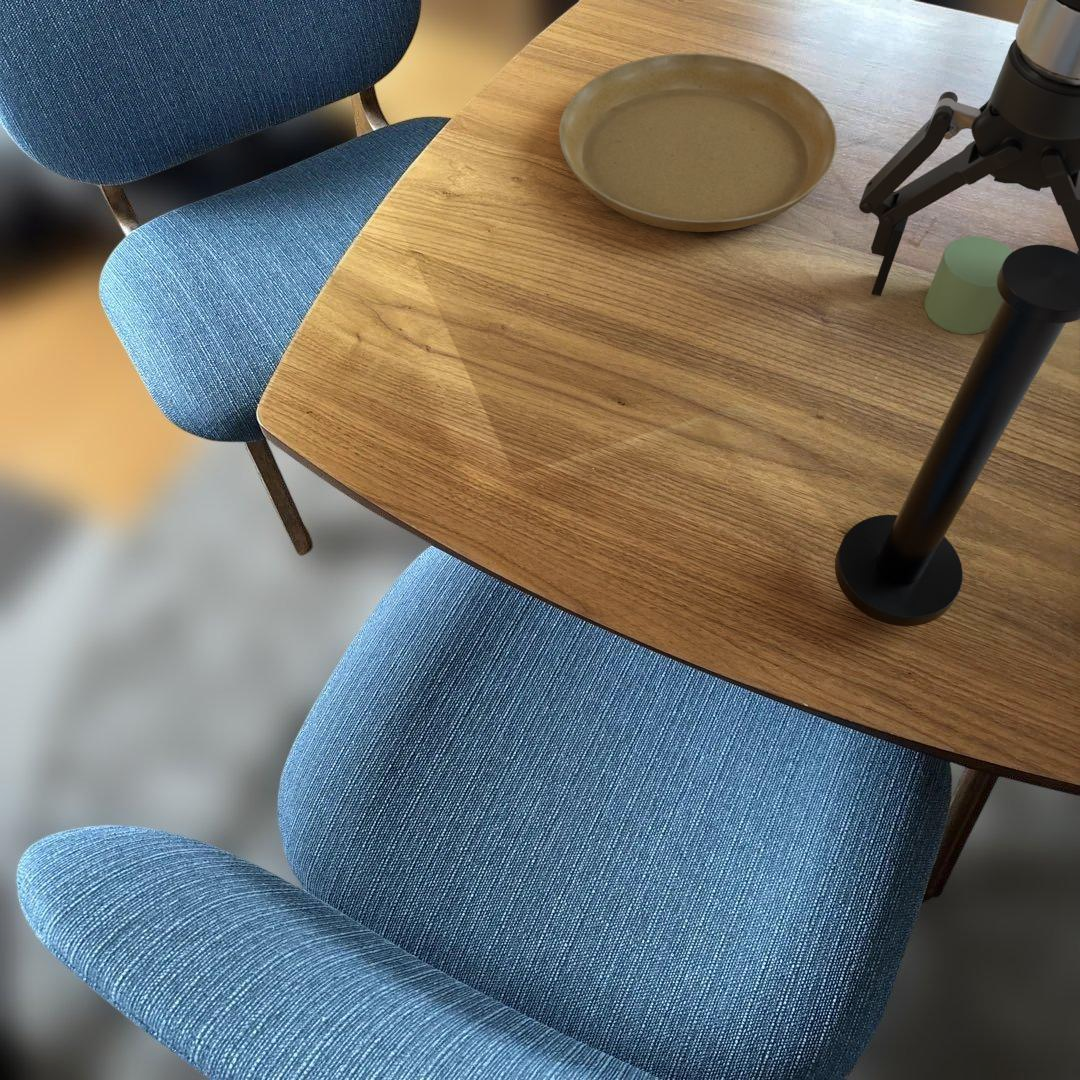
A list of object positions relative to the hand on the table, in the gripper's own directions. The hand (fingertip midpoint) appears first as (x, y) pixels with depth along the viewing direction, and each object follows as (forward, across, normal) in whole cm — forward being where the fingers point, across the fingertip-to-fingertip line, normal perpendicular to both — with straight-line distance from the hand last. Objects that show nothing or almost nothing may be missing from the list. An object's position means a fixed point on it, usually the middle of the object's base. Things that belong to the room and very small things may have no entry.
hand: (961, 305), depth 82 cm
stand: (0, 0, +27) cm, 27 cm away
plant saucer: (0, +26, -10) cm, 27 cm away
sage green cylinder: (0, 0, 0) cm, 0 cm away
